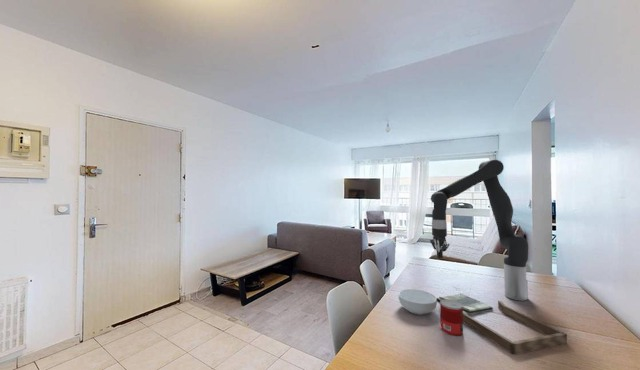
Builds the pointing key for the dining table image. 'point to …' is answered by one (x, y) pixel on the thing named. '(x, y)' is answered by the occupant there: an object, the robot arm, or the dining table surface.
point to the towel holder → (517, 347)
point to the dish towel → (468, 304)
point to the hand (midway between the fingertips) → (439, 258)
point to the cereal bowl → (417, 301)
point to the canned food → (451, 317)
